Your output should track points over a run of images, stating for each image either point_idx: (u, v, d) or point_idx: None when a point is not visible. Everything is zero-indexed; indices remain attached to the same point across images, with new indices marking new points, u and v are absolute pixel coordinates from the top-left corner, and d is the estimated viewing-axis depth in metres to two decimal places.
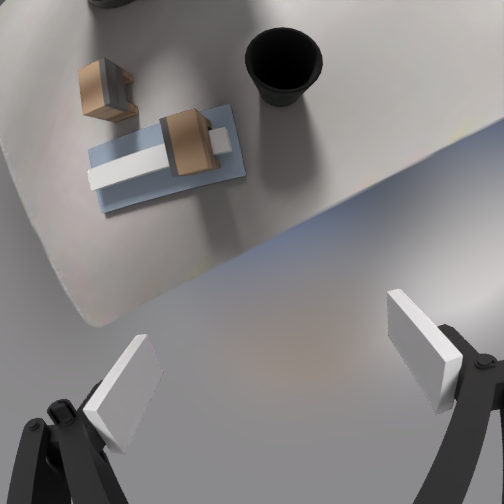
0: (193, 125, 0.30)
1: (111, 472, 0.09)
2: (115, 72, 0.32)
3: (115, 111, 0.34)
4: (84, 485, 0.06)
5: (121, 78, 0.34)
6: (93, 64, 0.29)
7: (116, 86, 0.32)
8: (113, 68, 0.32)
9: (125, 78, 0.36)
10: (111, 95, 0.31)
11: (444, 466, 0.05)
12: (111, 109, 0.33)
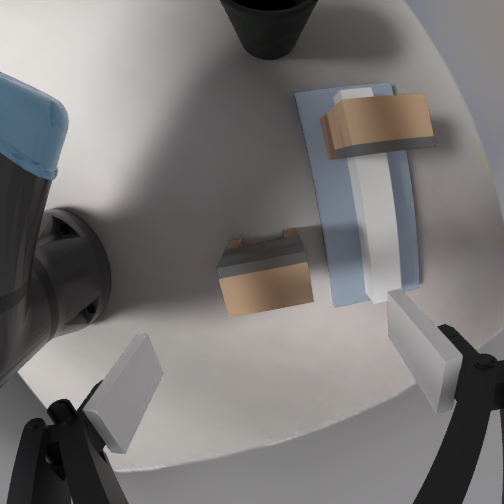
0: (368, 103, 0.18)
1: (111, 472, 0.09)
2: (238, 254, 0.25)
3: None
4: (84, 485, 0.06)
5: (245, 248, 0.27)
6: (225, 288, 0.23)
7: (265, 249, 0.25)
8: (231, 257, 0.25)
9: (240, 246, 0.29)
10: (288, 251, 0.23)
11: (444, 466, 0.05)
12: None
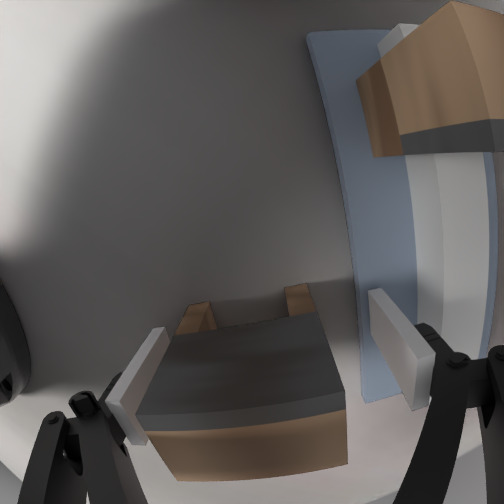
0: (503, 27, 0.04)
1: (130, 466, 0.09)
2: (191, 362, 0.11)
3: None
4: (101, 479, 0.07)
5: (209, 339, 0.13)
6: (161, 446, 0.09)
7: (248, 359, 0.11)
8: (177, 371, 0.11)
9: (203, 324, 0.15)
10: (302, 384, 0.09)
11: (422, 464, 0.05)
12: None
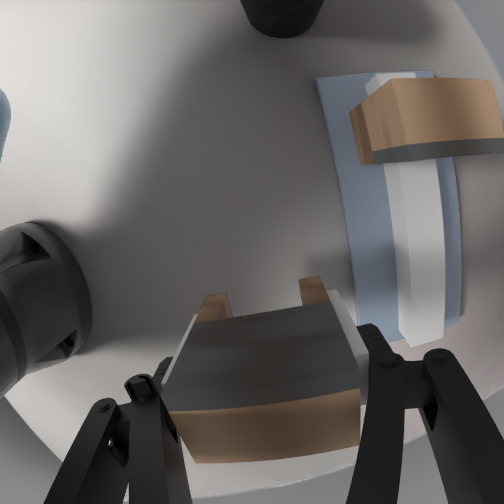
0: (425, 87, 0.11)
1: (180, 454, 0.10)
2: (213, 347, 0.12)
3: None
4: (146, 468, 0.07)
5: (228, 326, 0.14)
6: (183, 426, 0.10)
7: (268, 343, 0.12)
8: (199, 354, 0.12)
9: (222, 313, 0.16)
10: (319, 363, 0.10)
11: (368, 462, 0.06)
12: None
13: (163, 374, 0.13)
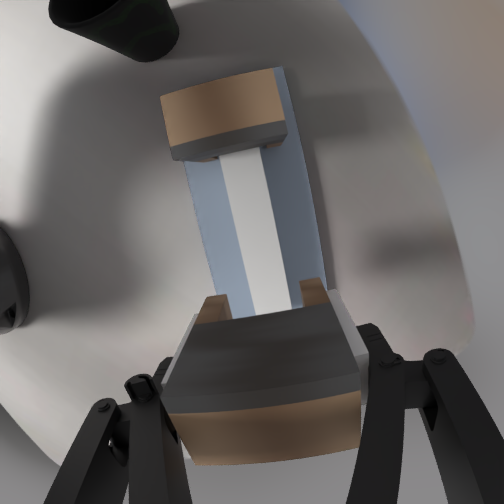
0: (190, 94, 0.16)
1: (180, 454, 0.10)
2: (213, 349, 0.12)
3: None
4: (146, 468, 0.07)
5: (228, 328, 0.14)
6: (183, 428, 0.10)
7: (268, 345, 0.12)
8: (199, 356, 0.12)
9: (222, 314, 0.16)
10: (320, 366, 0.10)
11: (368, 462, 0.06)
12: None
13: (163, 374, 0.13)
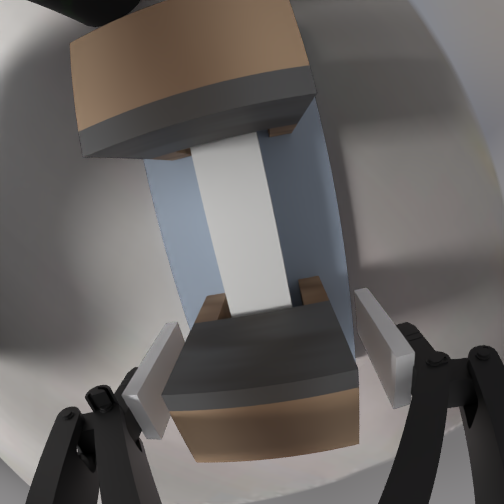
0: (120, 30, 0.07)
1: (145, 461, 0.09)
2: (213, 347, 0.12)
3: None
4: (114, 475, 0.07)
5: (228, 326, 0.14)
6: (184, 426, 0.10)
7: (267, 343, 0.12)
8: (199, 354, 0.12)
9: (222, 313, 0.16)
10: (318, 363, 0.10)
11: (406, 462, 0.06)
12: None
13: None
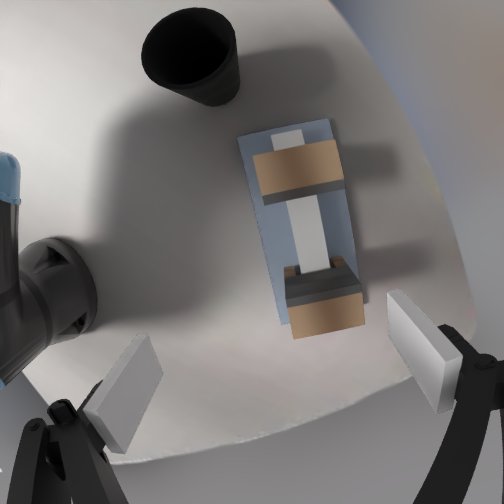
0: (276, 157, 0.23)
1: (111, 472, 0.09)
2: (299, 284, 0.29)
3: None
4: (84, 485, 0.06)
5: (303, 277, 0.30)
6: (292, 315, 0.26)
7: (323, 280, 0.28)
8: (294, 286, 0.28)
9: (295, 274, 0.33)
10: (346, 283, 0.26)
11: (444, 466, 0.05)
12: None
13: None
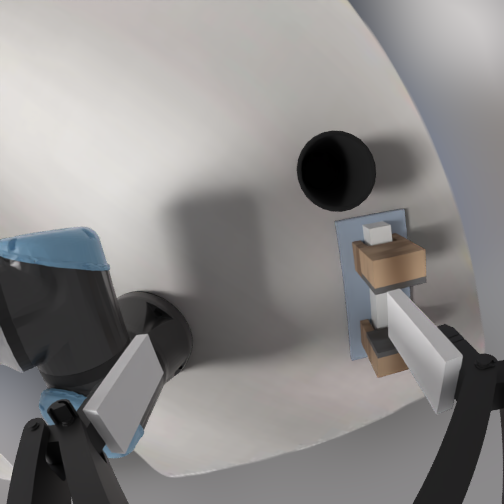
0: (388, 262, 0.31)
1: (111, 472, 0.09)
2: (381, 339, 0.37)
3: None
4: (84, 485, 0.06)
5: (380, 332, 0.39)
6: (380, 363, 0.35)
7: None
8: (379, 341, 0.37)
9: None
10: None
11: (444, 466, 0.05)
12: None
13: None
